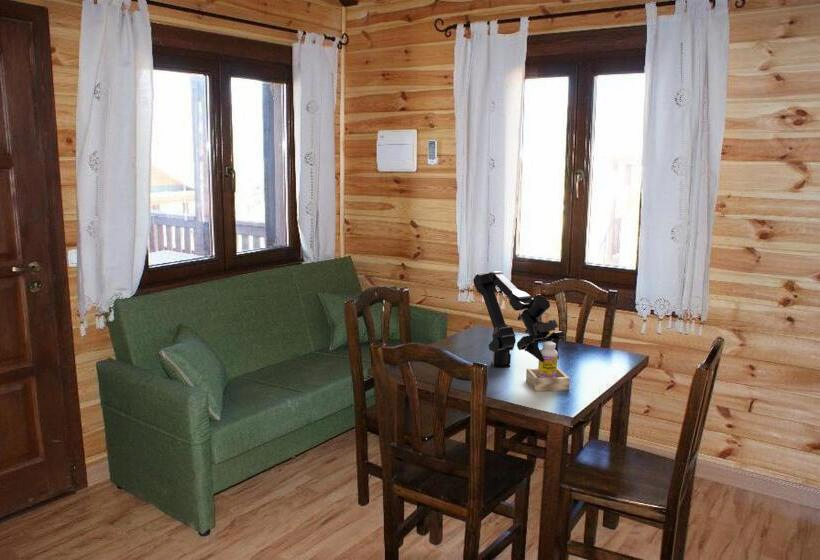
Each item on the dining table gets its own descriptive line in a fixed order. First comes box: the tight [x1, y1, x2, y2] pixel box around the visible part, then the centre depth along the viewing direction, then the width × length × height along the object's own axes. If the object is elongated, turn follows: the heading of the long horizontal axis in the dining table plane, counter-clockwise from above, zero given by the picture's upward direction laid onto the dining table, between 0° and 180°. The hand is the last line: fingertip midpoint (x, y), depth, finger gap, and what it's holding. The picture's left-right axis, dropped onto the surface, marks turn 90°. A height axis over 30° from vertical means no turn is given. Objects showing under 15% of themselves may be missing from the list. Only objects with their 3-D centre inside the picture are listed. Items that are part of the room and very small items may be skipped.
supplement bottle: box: [537, 342, 559, 378], centre depth 255 cm, size 7×7×13 cm
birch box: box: [525, 367, 571, 392], centre depth 256 cm, size 12×12×5 cm
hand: (550, 360), depth 254 cm, fingers closed on supplement bottle, 7 cm apart
